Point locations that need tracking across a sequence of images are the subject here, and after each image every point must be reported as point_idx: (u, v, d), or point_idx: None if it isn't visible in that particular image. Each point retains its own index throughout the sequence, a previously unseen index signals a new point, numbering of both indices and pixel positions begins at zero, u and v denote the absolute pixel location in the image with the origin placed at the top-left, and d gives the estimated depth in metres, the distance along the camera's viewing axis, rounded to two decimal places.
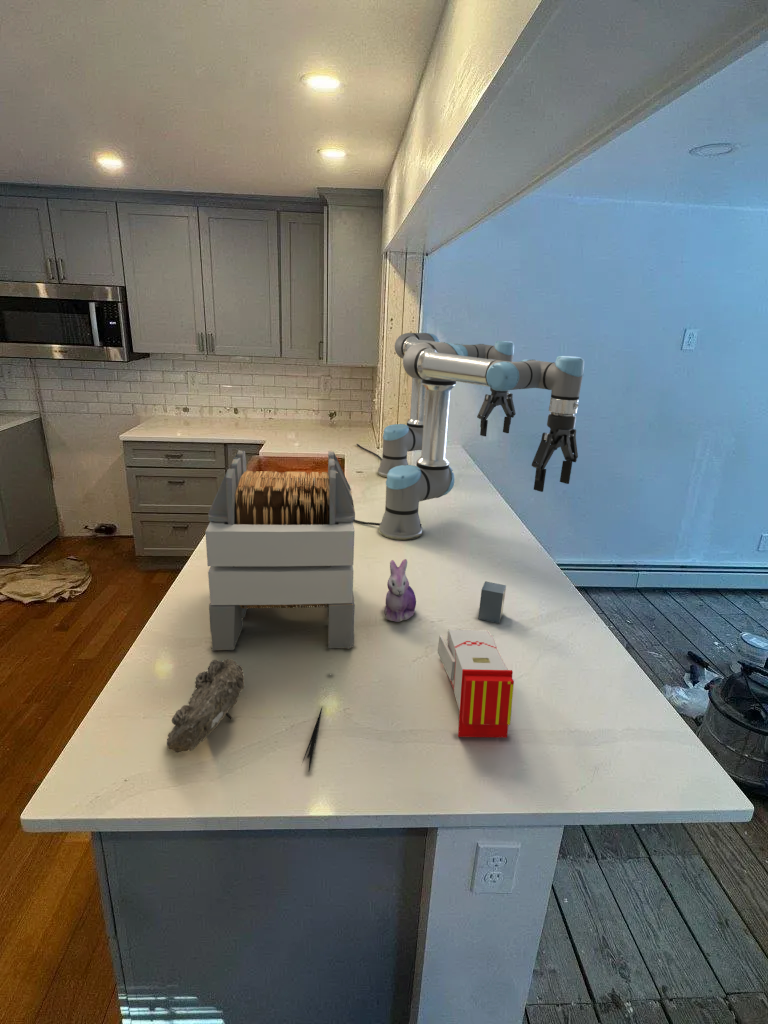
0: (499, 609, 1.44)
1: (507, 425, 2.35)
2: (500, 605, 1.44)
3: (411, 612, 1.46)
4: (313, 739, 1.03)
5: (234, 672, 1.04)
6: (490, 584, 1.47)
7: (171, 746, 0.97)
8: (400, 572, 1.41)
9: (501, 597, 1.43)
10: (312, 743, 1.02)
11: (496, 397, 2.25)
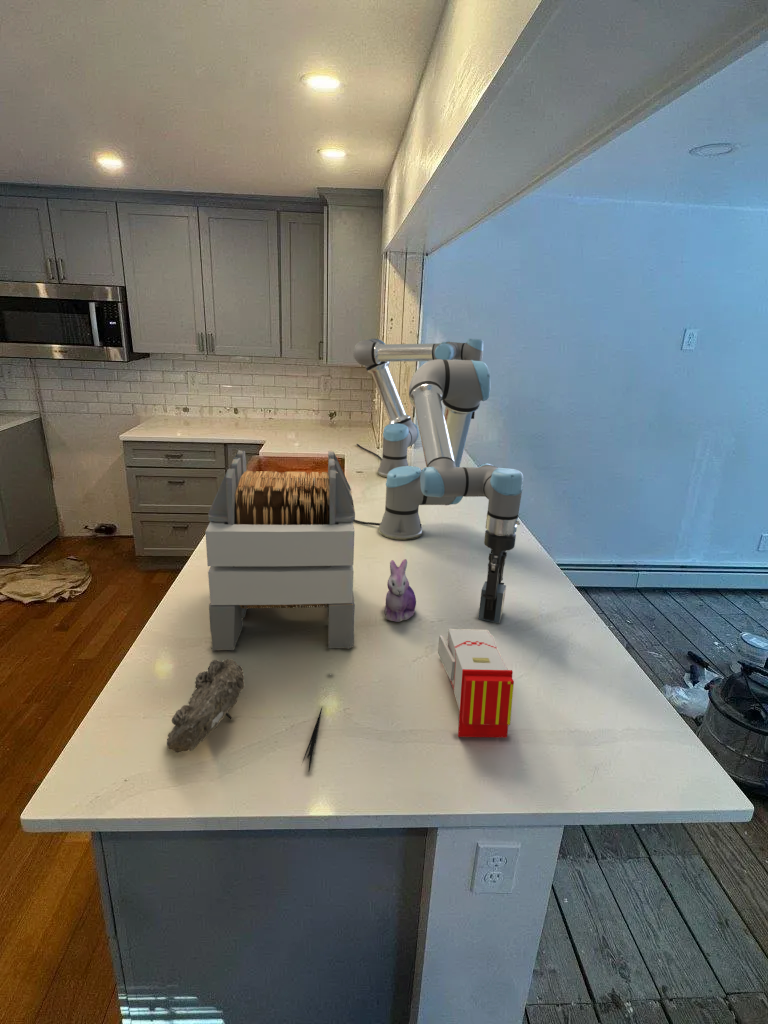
0: (499, 609, 1.44)
1: (473, 412, 2.69)
2: (500, 605, 1.44)
3: (411, 612, 1.46)
4: (313, 739, 1.03)
5: (234, 672, 1.04)
6: None
7: (171, 746, 0.97)
8: (400, 572, 1.41)
9: (501, 597, 1.43)
10: (312, 743, 1.02)
11: None
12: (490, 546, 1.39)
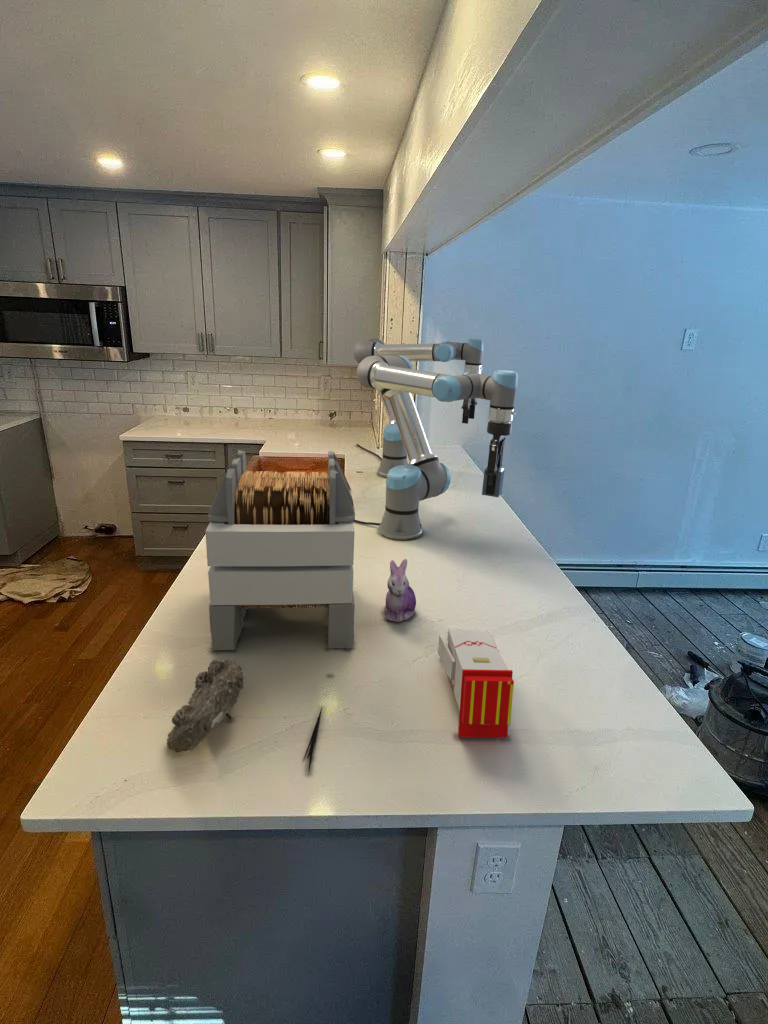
0: (498, 485, 1.82)
1: (473, 412, 2.69)
2: (499, 482, 1.81)
3: (411, 612, 1.46)
4: (313, 739, 1.03)
5: (234, 672, 1.04)
6: None
7: (171, 746, 0.97)
8: (400, 572, 1.41)
9: (500, 475, 1.80)
10: (312, 743, 1.02)
11: None
12: (491, 432, 1.77)
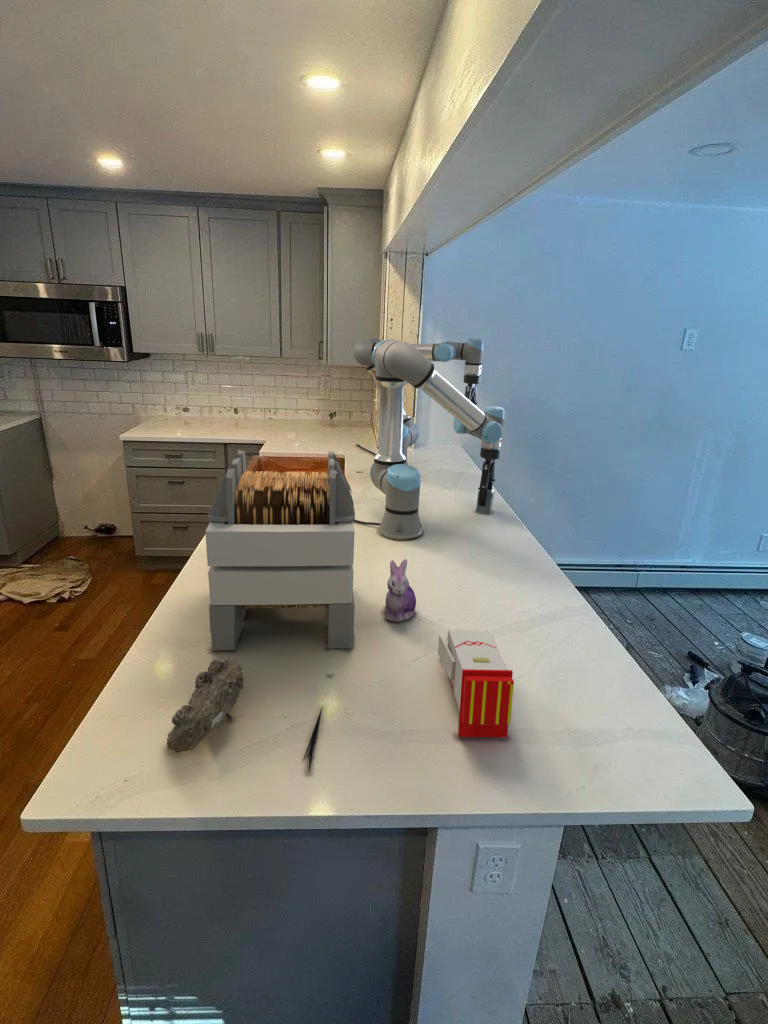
0: (489, 504, 2.22)
1: None
2: (490, 502, 2.21)
3: (411, 612, 1.46)
4: (313, 739, 1.03)
5: (234, 672, 1.04)
6: None
7: (171, 746, 0.97)
8: (400, 572, 1.41)
9: (491, 496, 2.21)
10: (312, 743, 1.02)
11: (472, 388, 2.57)
12: (484, 456, 2.16)
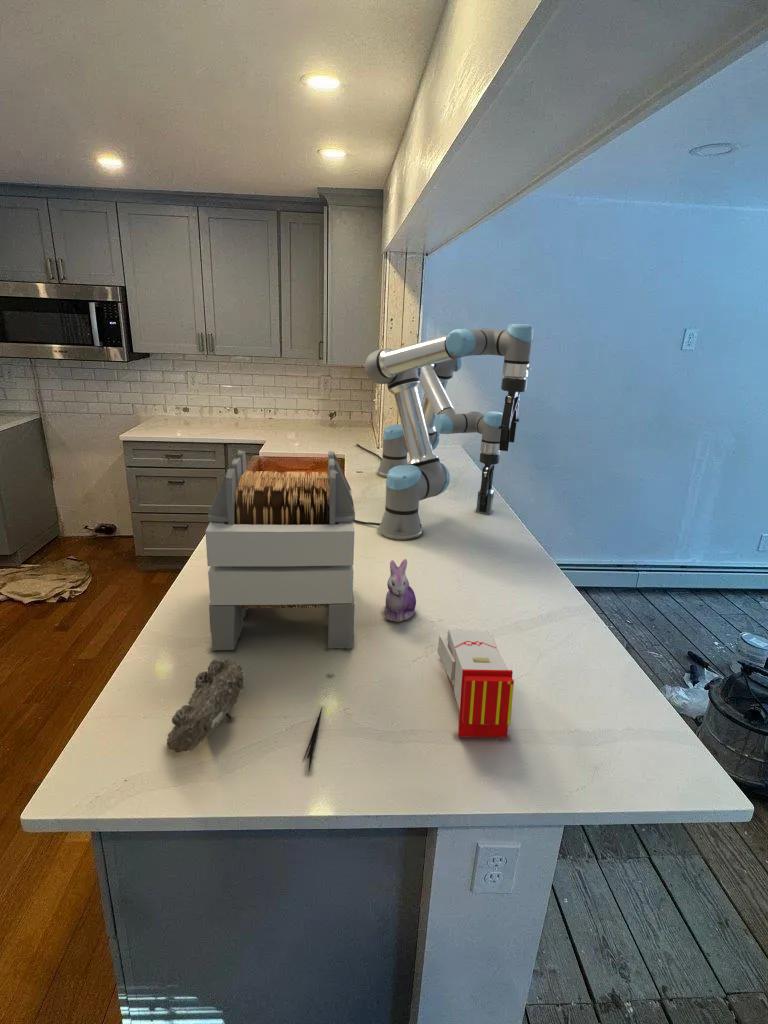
0: (489, 504, 2.22)
1: None
2: (490, 502, 2.22)
3: (411, 612, 1.46)
4: (313, 739, 1.03)
5: (234, 672, 1.04)
6: None
7: (171, 746, 0.97)
8: (400, 572, 1.41)
9: (491, 496, 2.21)
10: (312, 743, 1.02)
11: (490, 469, 2.18)
12: (506, 388, 1.71)
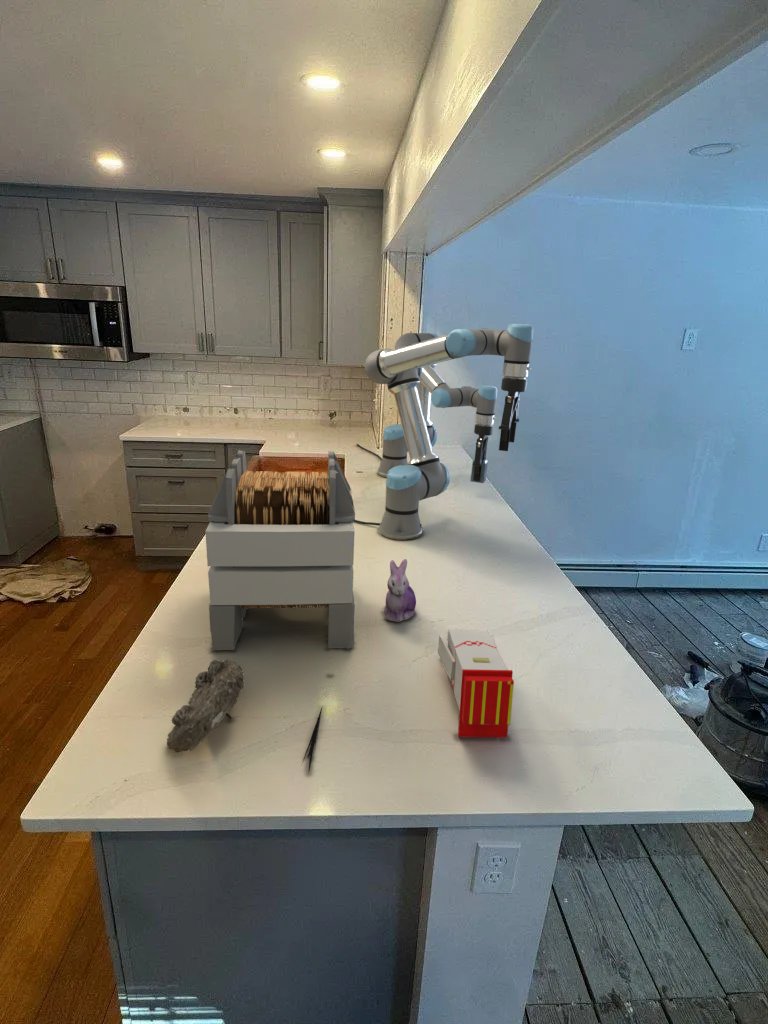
0: (483, 474, 2.36)
1: None
2: (483, 471, 2.35)
3: (411, 612, 1.46)
4: (313, 739, 1.03)
5: (234, 672, 1.04)
6: None
7: (171, 746, 0.97)
8: (400, 572, 1.41)
9: (484, 466, 2.34)
10: (312, 743, 1.02)
11: (483, 440, 2.31)
12: (506, 388, 1.71)
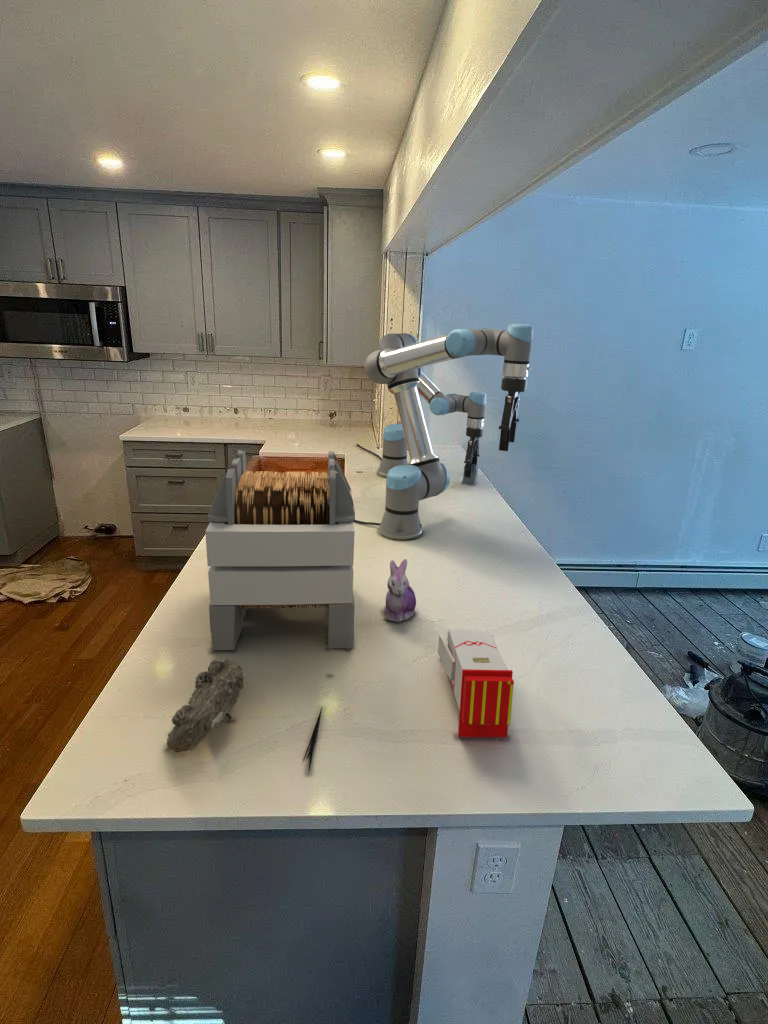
0: (474, 476, 2.59)
1: None
2: (474, 474, 2.58)
3: (411, 612, 1.46)
4: (313, 739, 1.03)
5: (234, 672, 1.04)
6: None
7: (171, 746, 0.97)
8: (400, 572, 1.41)
9: (475, 469, 2.57)
10: (312, 743, 1.02)
11: (474, 441, 2.53)
12: (506, 388, 1.71)
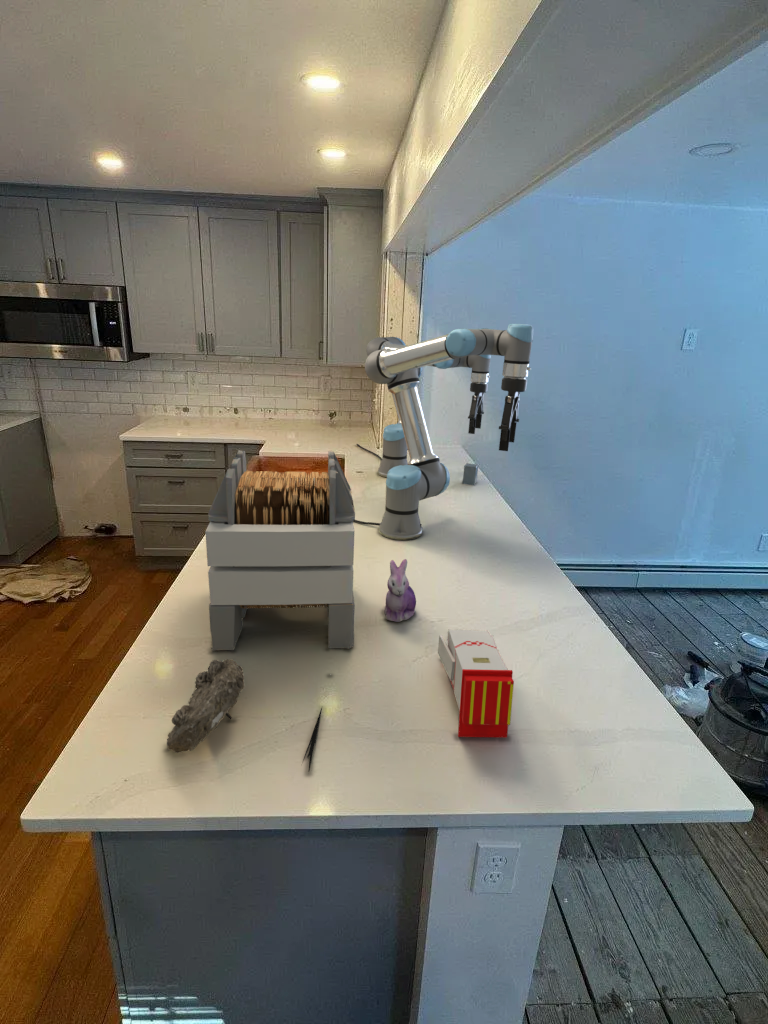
0: (474, 476, 2.59)
1: (480, 421, 2.59)
2: (474, 474, 2.58)
3: (411, 612, 1.46)
4: (313, 739, 1.03)
5: (234, 672, 1.04)
6: (469, 464, 2.62)
7: (171, 746, 0.97)
8: (400, 572, 1.41)
9: (475, 469, 2.57)
10: (312, 743, 1.02)
11: (479, 397, 2.47)
12: (506, 388, 1.71)
